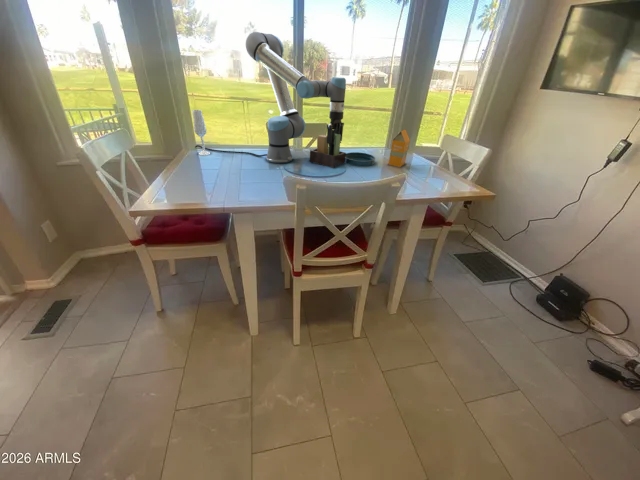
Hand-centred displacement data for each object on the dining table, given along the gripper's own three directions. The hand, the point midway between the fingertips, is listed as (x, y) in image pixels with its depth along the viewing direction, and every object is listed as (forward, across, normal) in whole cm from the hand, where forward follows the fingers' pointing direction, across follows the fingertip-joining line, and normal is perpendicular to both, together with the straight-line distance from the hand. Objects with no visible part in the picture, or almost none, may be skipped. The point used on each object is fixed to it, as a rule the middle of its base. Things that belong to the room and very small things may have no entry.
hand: (333, 155), depth 157 cm
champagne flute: (+5, -41, +67) cm, 79 cm away
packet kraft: (+5, 0, +8) cm, 9 cm away
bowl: (+5, +15, -9) cm, 18 cm away
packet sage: (+3, 0, 0) cm, 3 cm away
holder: (+5, 0, +4) cm, 7 cm away
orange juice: (+6, +28, -28) cm, 40 cm away
